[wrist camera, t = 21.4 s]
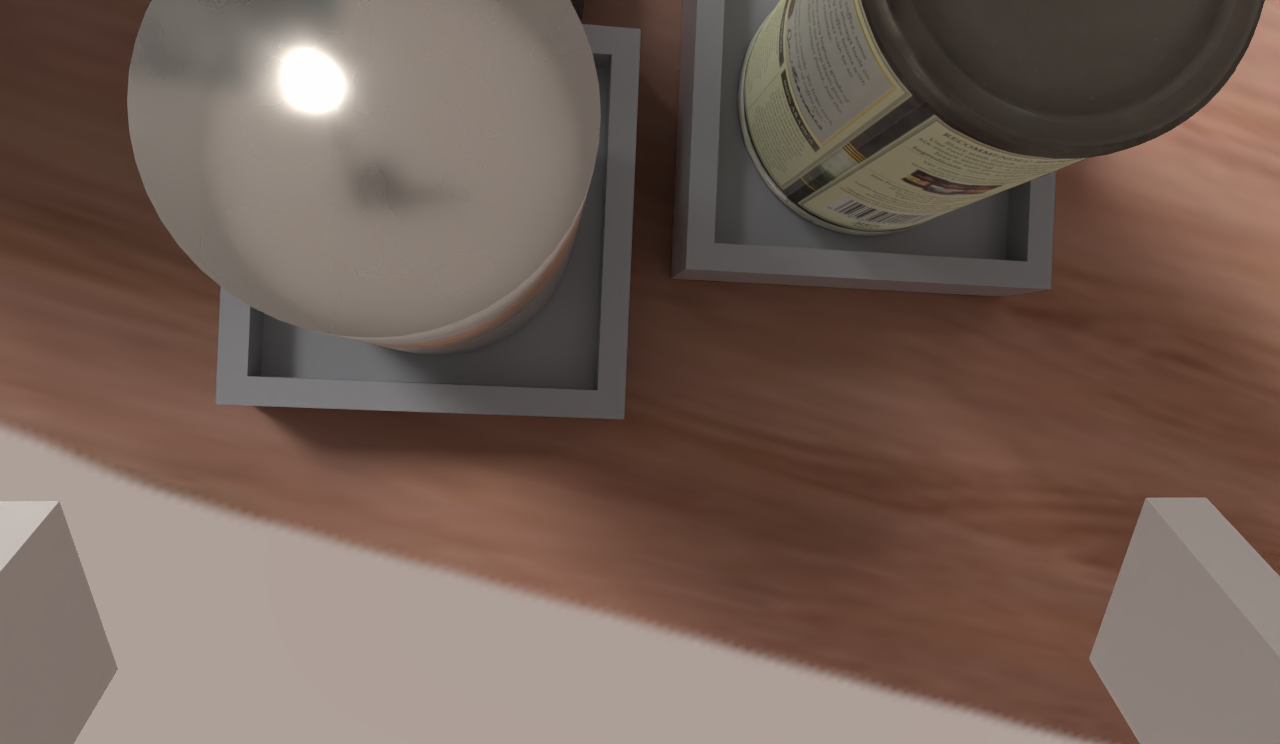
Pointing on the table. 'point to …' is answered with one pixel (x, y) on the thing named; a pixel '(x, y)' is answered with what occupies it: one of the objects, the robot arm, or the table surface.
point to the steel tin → (371, 158)
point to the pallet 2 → (793, 246)
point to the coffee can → (967, 95)
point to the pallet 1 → (508, 370)
